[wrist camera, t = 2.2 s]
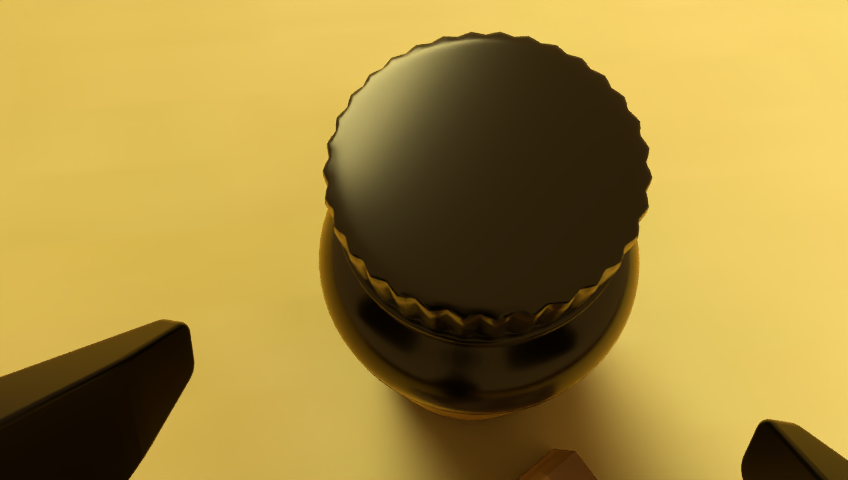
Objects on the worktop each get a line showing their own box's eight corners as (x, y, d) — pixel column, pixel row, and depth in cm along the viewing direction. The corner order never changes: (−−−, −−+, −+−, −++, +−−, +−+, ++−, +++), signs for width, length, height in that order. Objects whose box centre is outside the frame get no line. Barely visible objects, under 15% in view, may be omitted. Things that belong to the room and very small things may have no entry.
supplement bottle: (350, 277, 19) (205, 57, 8) (511, 212, 20) (581, -75, 9) (415, 457, 17) (335, 494, 6) (597, 377, 17) (849, 268, 6)
